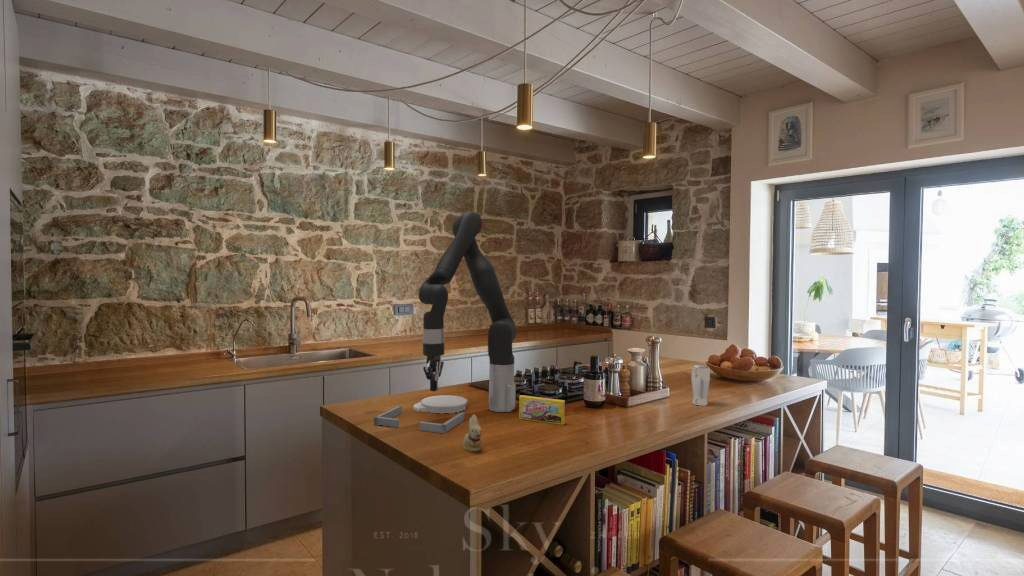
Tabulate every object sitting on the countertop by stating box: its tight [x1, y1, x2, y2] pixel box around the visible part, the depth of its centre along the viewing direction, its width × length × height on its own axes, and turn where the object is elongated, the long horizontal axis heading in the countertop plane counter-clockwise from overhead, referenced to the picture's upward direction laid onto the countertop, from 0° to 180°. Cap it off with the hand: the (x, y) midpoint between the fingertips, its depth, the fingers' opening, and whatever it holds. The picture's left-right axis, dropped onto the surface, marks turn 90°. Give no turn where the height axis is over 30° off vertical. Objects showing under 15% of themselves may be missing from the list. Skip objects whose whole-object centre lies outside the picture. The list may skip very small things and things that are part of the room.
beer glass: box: [690, 364, 711, 407], centre depth 212 cm, size 7×7×15 cm
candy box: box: [518, 394, 566, 425], centre depth 184 cm, size 16×2×8 cm, turn 68°
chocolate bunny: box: [462, 414, 482, 453], centre depth 155 cm, size 6×8×10 cm
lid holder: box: [373, 405, 465, 434], centre depth 180 cm, size 25×16×2 cm, turn 72°
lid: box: [412, 394, 468, 415], centre depth 199 cm, size 17×20×3 cm
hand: (433, 390), depth 187 cm, fingers closed
